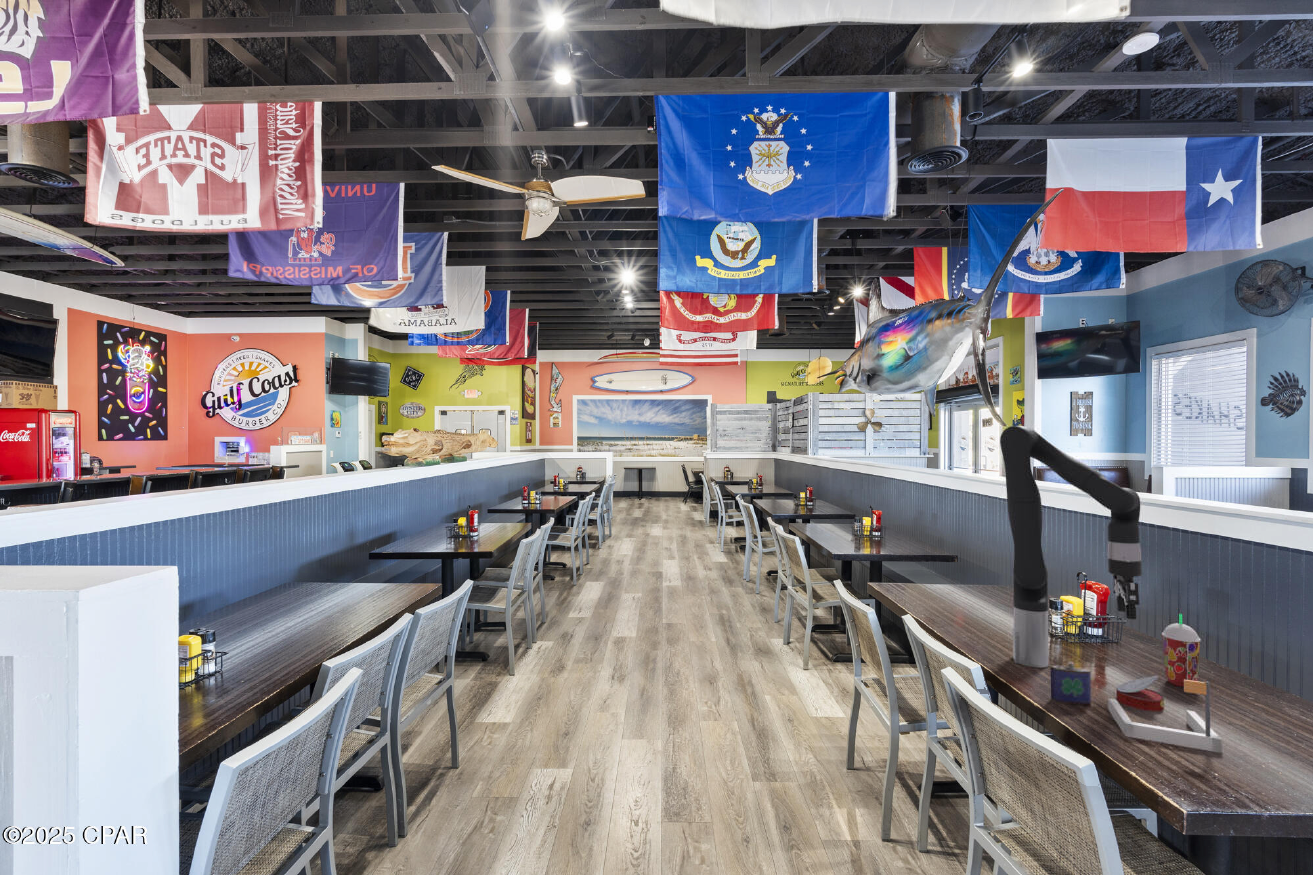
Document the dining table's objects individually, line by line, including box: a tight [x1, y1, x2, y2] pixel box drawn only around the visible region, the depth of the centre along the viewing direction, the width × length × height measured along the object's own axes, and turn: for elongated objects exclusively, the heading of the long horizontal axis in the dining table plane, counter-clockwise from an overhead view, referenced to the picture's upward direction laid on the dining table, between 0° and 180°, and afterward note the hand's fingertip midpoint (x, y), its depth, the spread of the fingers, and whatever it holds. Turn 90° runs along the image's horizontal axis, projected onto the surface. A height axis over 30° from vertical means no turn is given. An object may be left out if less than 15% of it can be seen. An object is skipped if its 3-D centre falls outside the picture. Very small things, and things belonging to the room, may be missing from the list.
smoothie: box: [1161, 613, 1201, 688], centre depth 170 cm, size 8×8×20 cm
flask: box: [1049, 661, 1092, 706], centre depth 156 cm, size 9×3×11 cm, turn 74°
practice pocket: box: [1107, 680, 1223, 754], centre depth 141 cm, size 17×16×15 cm
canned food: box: [1115, 675, 1165, 712], centre depth 156 cm, size 11×10×10 cm
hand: (1126, 614), depth 167 cm, fingers open, 8 cm apart
